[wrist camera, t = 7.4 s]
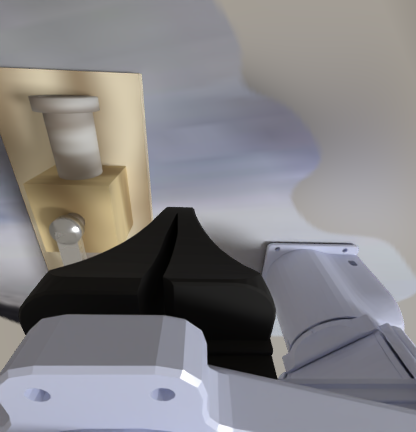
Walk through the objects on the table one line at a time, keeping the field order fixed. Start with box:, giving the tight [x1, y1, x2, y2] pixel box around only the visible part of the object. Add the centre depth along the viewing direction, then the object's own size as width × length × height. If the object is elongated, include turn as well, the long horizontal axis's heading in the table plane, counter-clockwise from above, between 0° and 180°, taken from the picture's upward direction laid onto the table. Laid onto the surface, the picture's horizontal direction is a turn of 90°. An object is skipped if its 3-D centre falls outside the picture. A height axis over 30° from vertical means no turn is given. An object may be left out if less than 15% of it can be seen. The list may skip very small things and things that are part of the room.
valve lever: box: [49, 215, 87, 266], centre depth 19 cm, size 12×2×2 cm, turn 177°
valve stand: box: [0, 68, 153, 271], centre depth 20 cm, size 11×19×6 cm, turn 178°
